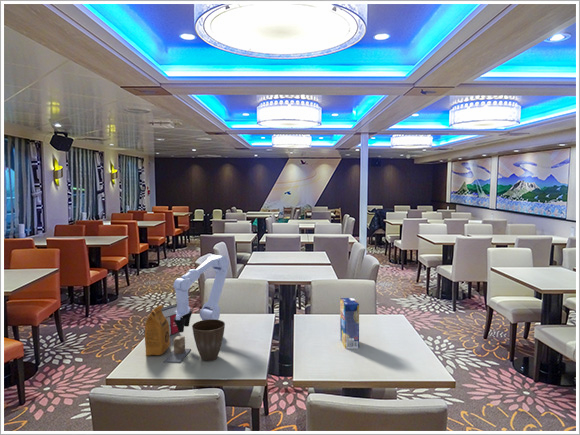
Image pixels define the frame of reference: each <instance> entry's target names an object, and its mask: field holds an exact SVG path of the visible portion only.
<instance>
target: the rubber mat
mask: <svg viewBox="0 0 580 435" xmlns="http://www.w3.org/2000/svg"><path fill="white" fill-rule="evenodd" d="M191 351H192V349H191V348H185V351H184V352H183V354H174V349H173V350H172V351H171V352H170V353H169V354H168V355H167V357H165V359H163V363H173V364H174V363H175V364H181V363H182V361H184V359H185V358H186V357H187V356H188V354H189V353H190V352H191Z"/></svg>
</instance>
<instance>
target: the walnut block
mask: <svg viewBox="0 0 580 435" xmlns="http://www.w3.org/2000/svg"><path fill="white" fill-rule="evenodd" d="M185 349H186V339H185V336H184V335H183V336H178V335H177V336H175V337H174V339H173V350H174V354H183V352H184V351H185Z"/></svg>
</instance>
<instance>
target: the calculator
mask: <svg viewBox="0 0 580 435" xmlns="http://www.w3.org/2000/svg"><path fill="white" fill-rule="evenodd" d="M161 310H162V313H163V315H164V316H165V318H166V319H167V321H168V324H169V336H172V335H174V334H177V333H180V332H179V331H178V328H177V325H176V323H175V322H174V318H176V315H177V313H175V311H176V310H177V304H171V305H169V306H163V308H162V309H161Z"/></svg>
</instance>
